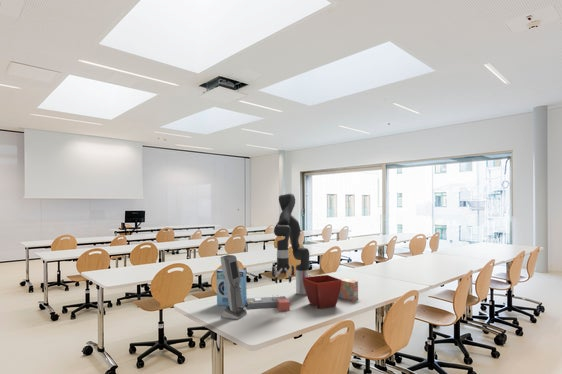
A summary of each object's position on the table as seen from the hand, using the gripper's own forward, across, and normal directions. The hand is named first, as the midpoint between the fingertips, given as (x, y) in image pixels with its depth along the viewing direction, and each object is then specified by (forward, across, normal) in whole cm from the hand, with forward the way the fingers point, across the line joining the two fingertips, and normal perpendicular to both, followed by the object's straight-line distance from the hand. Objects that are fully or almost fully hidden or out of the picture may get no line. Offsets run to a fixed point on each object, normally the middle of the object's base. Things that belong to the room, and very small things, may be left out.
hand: (283, 282), depth 215 cm
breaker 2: (+13, +3, -11) cm, 18 cm away
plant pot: (+16, -26, -2) cm, 31 cm away
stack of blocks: (+16, -45, -17) cm, 51 cm away
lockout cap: (+16, 0, 0) cm, 16 cm away
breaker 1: (+15, +15, -11) cm, 24 cm away
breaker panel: (+16, +9, -11) cm, 21 cm away
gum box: (+16, +32, -14) cm, 38 cm away
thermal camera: (+16, +31, +7) cm, 36 cm away
